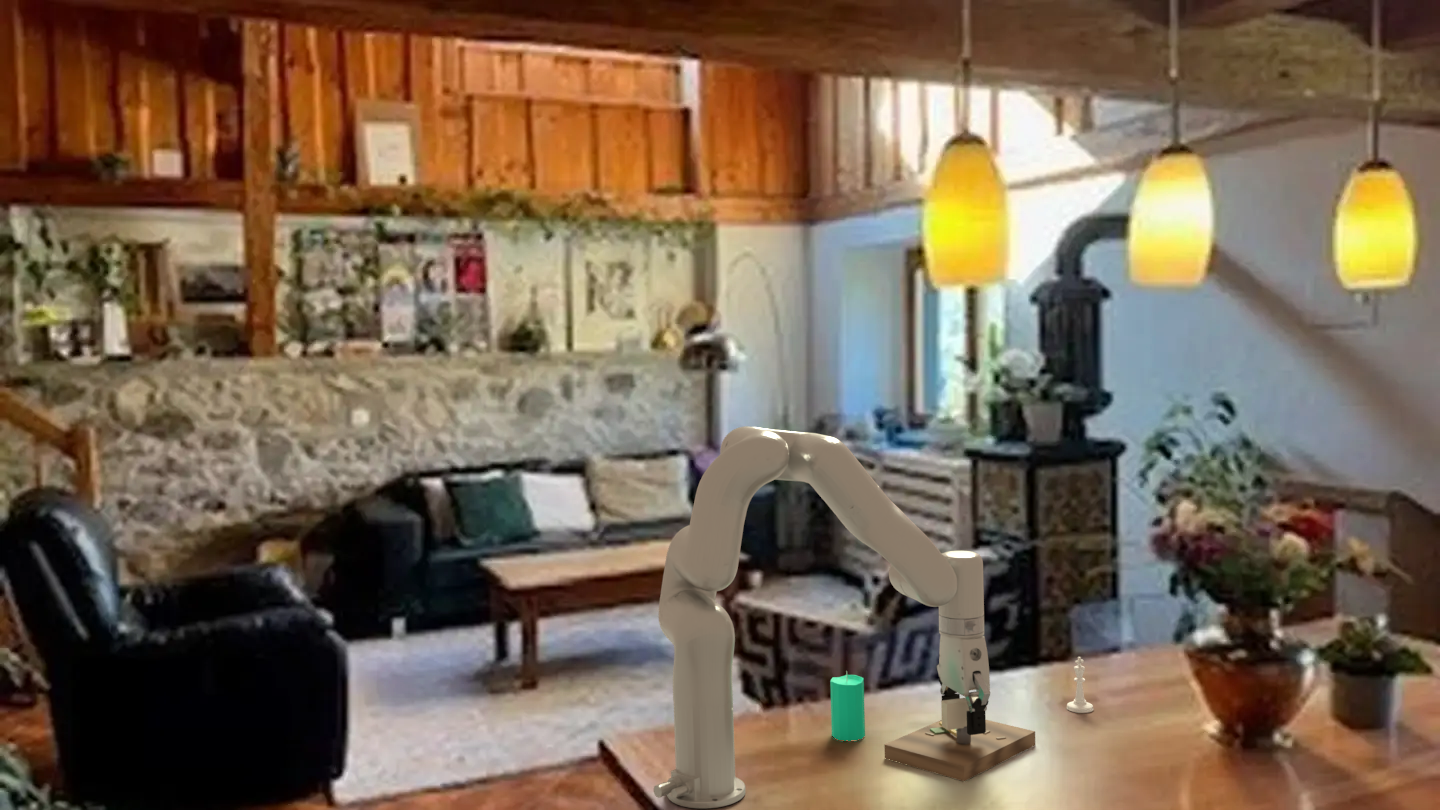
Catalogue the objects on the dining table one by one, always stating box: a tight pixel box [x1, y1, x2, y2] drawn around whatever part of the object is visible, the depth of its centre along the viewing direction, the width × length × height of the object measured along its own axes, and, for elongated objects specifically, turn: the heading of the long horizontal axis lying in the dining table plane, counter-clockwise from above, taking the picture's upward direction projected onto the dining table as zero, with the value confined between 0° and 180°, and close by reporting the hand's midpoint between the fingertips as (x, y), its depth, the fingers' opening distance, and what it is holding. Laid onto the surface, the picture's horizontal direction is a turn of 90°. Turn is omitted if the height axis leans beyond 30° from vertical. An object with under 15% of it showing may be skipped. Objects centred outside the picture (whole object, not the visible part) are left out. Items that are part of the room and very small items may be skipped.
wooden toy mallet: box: [939, 697, 978, 744], centre depth 211 cm, size 10×7×7 cm
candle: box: [829, 670, 866, 741], centre depth 220 cm, size 6×6×12 cm
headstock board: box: [883, 719, 1036, 782], centre depth 210 cm, size 22×16×3 cm
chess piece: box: [1066, 656, 1094, 714], centre depth 231 cm, size 5×5×10 cm
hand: (963, 725), depth 207 cm, fingers open, 8 cm apart
